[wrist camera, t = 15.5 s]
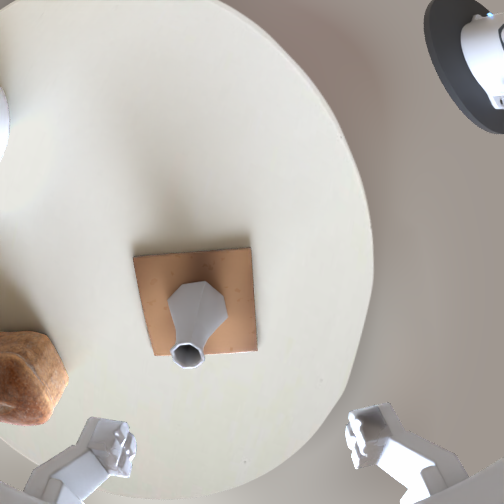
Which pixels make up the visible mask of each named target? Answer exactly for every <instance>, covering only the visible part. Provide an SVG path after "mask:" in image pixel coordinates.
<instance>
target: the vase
mask: <svg viewBox="0 0 504 504" xmlns="http://www.w3.org/2000/svg"><path fill="white" fill-rule="evenodd" d="M9 129H10V115H9V107H8V103H7V99H6V96H5V93H4V90H3V89H2V88H1V87H0V161H1V159H2V157H3V154H4V151H5V149H6V146H7V141H8V136H9Z"/></svg>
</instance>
